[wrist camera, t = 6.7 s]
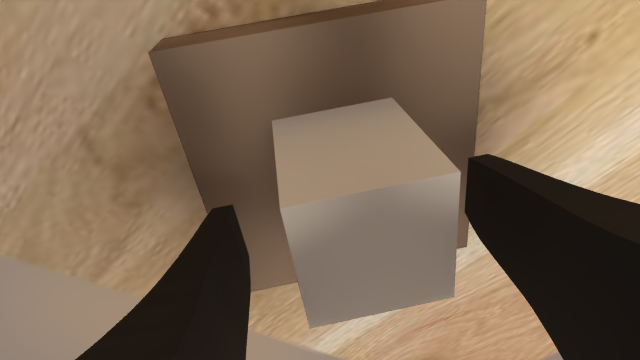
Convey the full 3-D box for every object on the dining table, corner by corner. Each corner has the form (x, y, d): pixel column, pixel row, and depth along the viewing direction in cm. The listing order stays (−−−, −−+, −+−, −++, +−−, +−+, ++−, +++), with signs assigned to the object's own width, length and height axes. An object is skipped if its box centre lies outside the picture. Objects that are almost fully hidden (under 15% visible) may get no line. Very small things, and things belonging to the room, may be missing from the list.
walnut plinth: (239, 261, 18) (237, 294, 16) (162, 38, 13) (148, 52, 11) (447, 219, 18) (466, 246, 17) (457, -13, 13) (487, -8, 11)
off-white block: (294, 217, 15) (309, 328, 10) (271, 120, 12) (280, 208, 8) (396, 197, 15) (453, 296, 10) (391, 97, 13) (461, 172, 8)
